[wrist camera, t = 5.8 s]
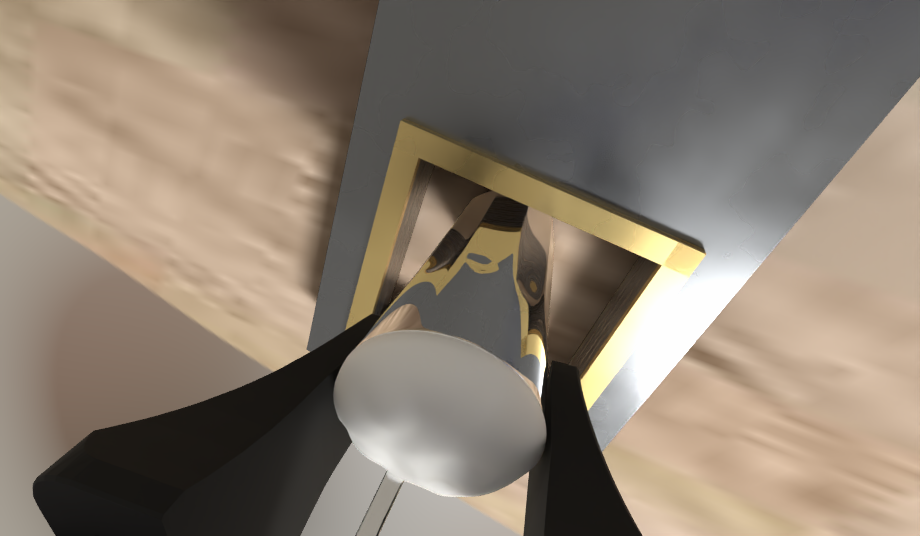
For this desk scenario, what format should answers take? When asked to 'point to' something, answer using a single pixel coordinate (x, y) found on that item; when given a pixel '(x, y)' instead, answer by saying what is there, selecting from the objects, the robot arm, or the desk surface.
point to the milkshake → (458, 362)
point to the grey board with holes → (615, 147)
